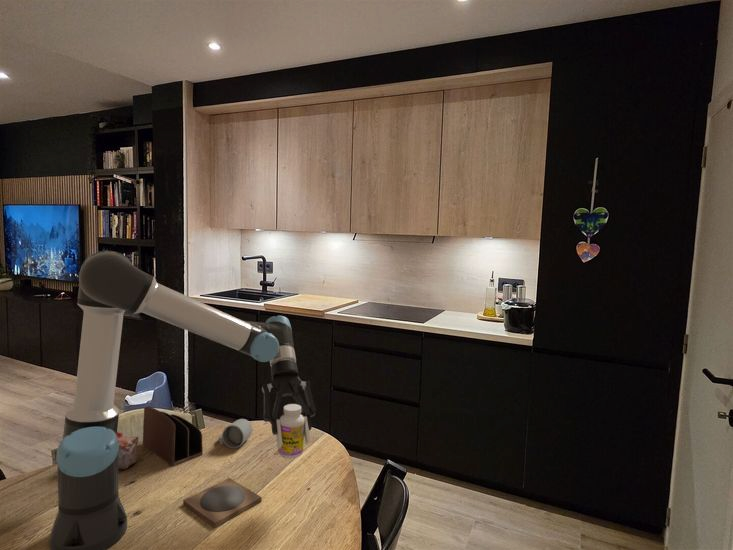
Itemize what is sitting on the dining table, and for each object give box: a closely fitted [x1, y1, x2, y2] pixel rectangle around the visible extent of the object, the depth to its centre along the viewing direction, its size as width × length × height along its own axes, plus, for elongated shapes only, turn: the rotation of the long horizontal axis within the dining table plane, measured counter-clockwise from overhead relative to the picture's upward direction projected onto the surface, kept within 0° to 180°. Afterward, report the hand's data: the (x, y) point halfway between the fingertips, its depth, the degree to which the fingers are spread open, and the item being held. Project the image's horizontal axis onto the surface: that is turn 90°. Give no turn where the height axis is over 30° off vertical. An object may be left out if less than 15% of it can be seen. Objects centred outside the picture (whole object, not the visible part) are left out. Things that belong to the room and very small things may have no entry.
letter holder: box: [142, 405, 204, 467], centre depth 143 cm, size 10×20×14 cm, turn 50°
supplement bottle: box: [277, 403, 305, 460], centre depth 119 cm, size 7×7×13 cm
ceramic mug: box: [217, 418, 253, 449], centre depth 150 cm, size 11×8×8 cm
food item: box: [117, 431, 139, 470], centre depth 132 cm, size 14×8×10 cm, turn 90°
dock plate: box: [182, 477, 263, 529], centre depth 116 cm, size 14×14×1 cm
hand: (294, 444), depth 116 cm, fingers closed on supplement bottle, 7 cm apart
